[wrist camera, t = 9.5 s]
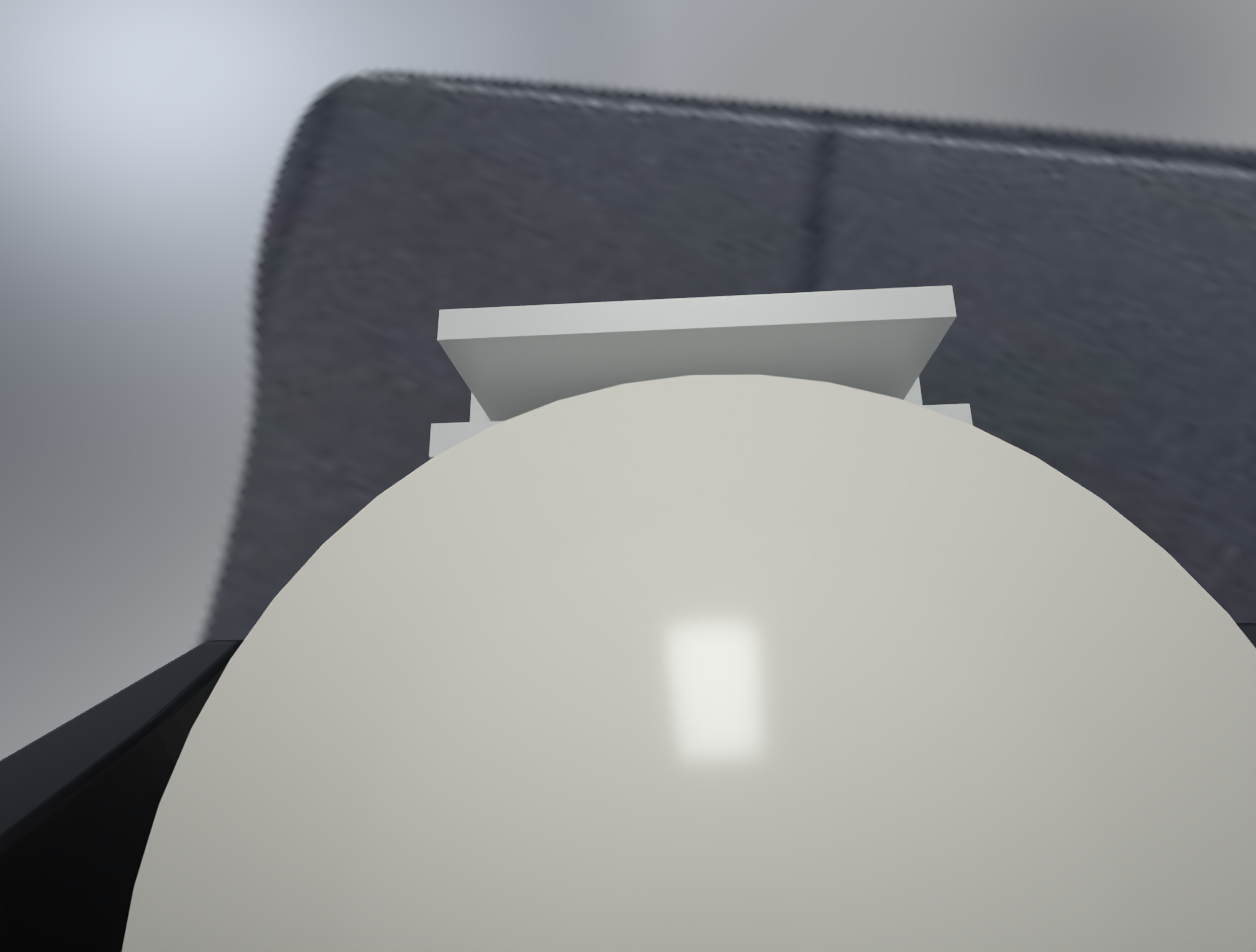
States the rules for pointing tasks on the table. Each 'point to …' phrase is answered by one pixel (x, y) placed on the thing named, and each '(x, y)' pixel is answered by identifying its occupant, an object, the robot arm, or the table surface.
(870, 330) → the pale green holder box
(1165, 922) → the off-white round-top cylinder
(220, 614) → the table surface
